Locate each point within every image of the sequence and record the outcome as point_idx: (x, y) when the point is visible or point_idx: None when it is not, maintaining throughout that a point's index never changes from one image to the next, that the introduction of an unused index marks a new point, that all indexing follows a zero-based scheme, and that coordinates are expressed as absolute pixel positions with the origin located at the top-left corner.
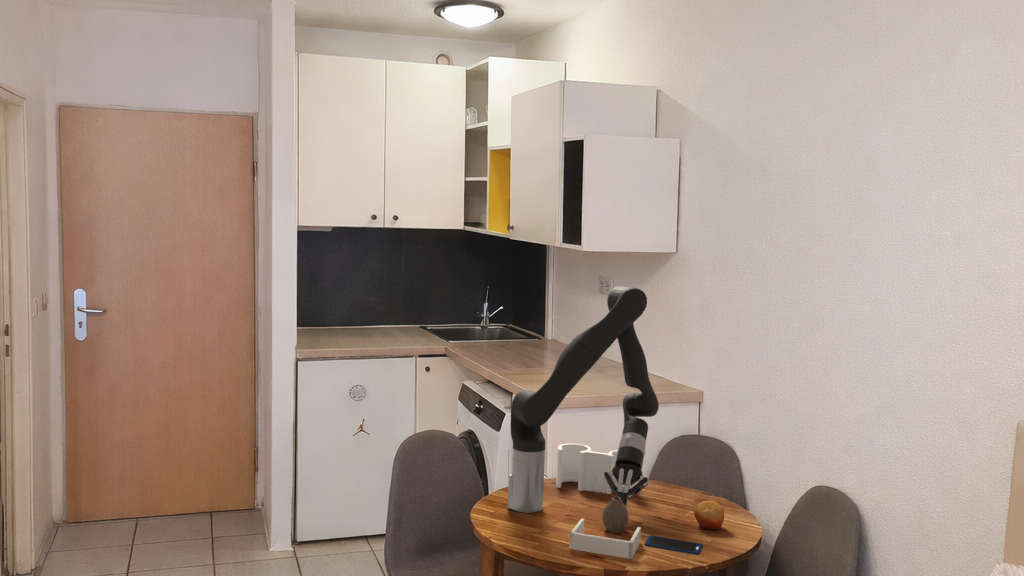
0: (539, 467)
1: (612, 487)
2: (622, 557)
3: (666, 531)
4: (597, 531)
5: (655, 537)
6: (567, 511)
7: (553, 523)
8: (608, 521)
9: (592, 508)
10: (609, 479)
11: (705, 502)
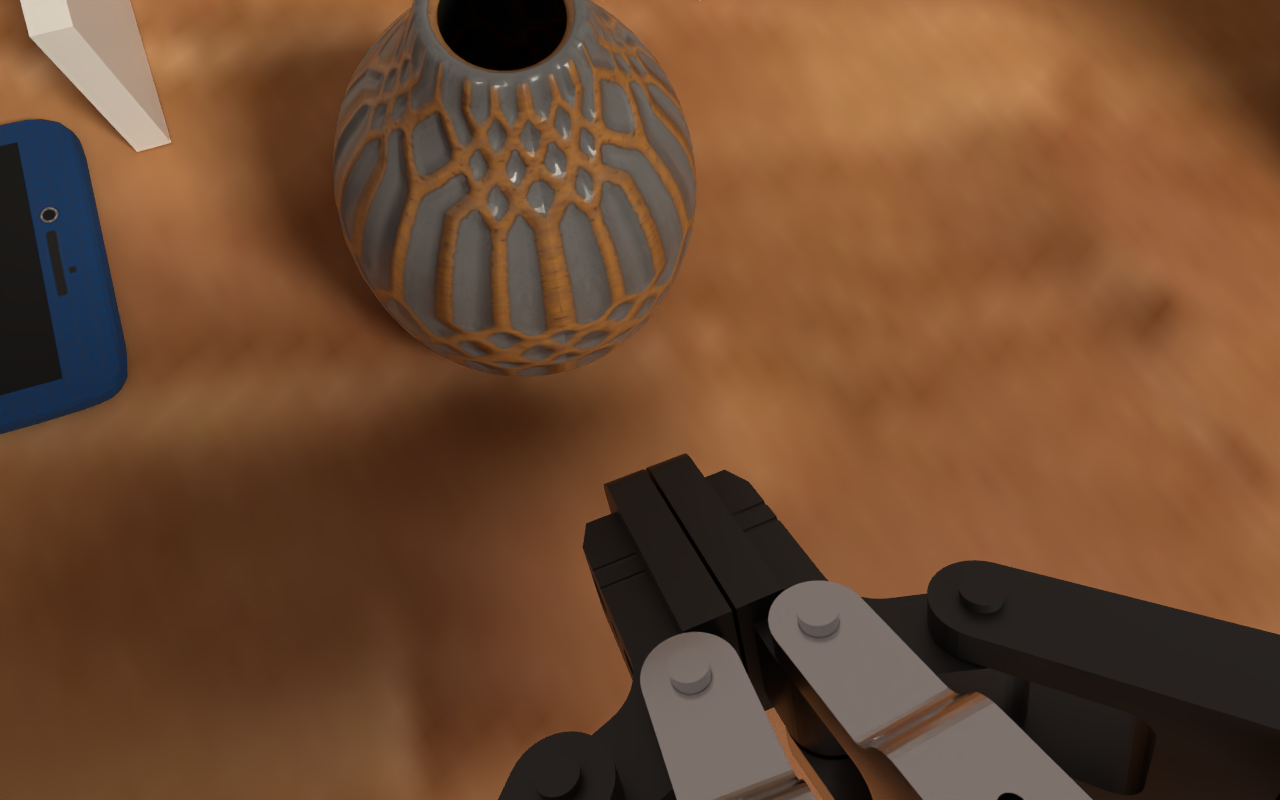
0: None
1: (995, 572)
2: None
3: (12, 705)
4: None
5: (24, 357)
6: (1240, 410)
7: (1059, 39)
8: (523, 57)
9: None
10: (1267, 677)
11: None
